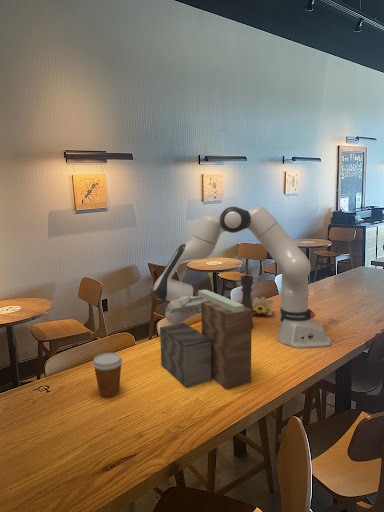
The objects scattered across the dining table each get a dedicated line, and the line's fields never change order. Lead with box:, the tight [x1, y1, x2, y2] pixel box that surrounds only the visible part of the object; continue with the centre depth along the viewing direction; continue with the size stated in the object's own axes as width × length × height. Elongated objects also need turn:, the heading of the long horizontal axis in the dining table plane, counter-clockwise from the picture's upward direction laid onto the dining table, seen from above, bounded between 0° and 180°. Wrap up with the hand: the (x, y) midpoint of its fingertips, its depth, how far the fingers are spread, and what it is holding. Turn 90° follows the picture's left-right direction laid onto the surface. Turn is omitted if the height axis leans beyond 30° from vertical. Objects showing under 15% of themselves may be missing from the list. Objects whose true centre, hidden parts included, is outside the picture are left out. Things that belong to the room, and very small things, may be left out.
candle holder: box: [240, 274, 254, 330], centre depth 182 cm, size 6×6×25 cm
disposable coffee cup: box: [92, 352, 123, 398], centre depth 125 cm, size 10×10×12 cm
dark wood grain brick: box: [159, 322, 212, 388], centre depth 138 cm, size 20×10×15 cm, turn 29°
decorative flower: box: [252, 296, 275, 317], centre depth 202 cm, size 15×11×10 cm
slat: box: [197, 289, 244, 313], centre depth 135 cm, size 24×4×2 cm, turn 29°
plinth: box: [201, 301, 253, 391], centre depth 134 cm, size 16×10×26 cm, turn 29°
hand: (200, 297), depth 147 cm, fingers open, 8 cm apart
